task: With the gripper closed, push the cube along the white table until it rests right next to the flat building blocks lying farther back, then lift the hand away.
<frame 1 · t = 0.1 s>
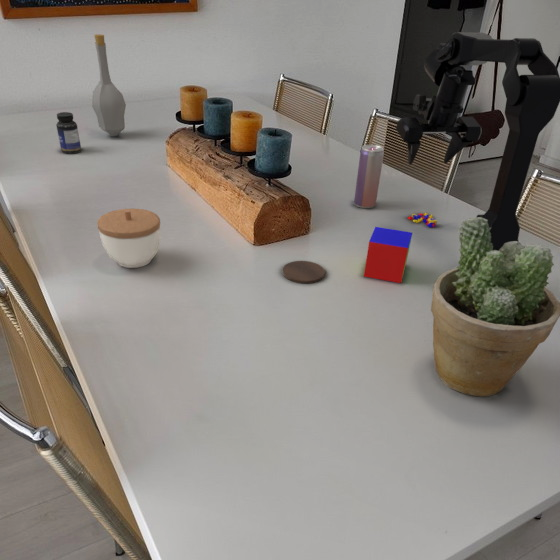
hand: (427, 163, 129), 15 cm above the table, tool pointing down, fingers open, 9 cm apart
coaster: (303, 273, 116), on the table
cube: (384, 272, 119), on the table
lidded bowl: (134, 261, 118), on the table
building blocks: (423, 221, 141), on the table
bottle: (113, 137, 188), on the table
beverage can: (364, 205, 148), on the table
pill bottle: (71, 151, 173), on the table
potted plant: (469, 376, 91), on the table
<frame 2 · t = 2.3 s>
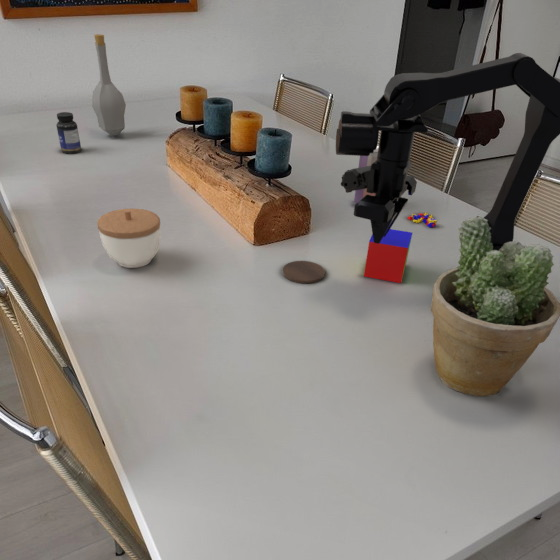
hand: (379, 239, 105), 11 cm above the table, tool pointing down, fingers open, 3 cm apart
nothing on the table moved.
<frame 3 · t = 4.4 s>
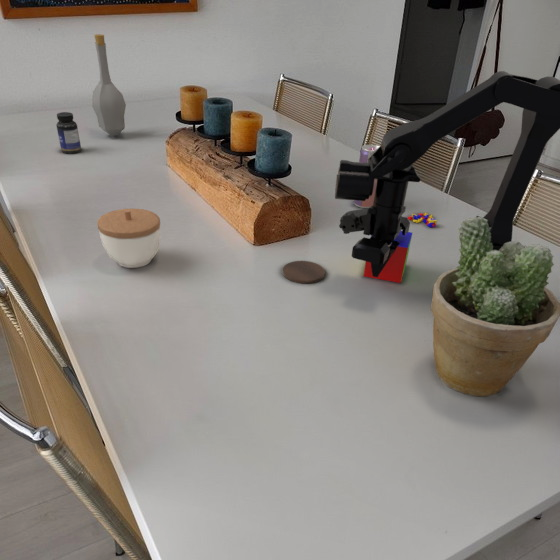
hand: (375, 276, 112), 2 cm above the table, tool pointing down, fingers closed
cube: (384, 272, 119), on the table, touching gripper
everything else where it was.
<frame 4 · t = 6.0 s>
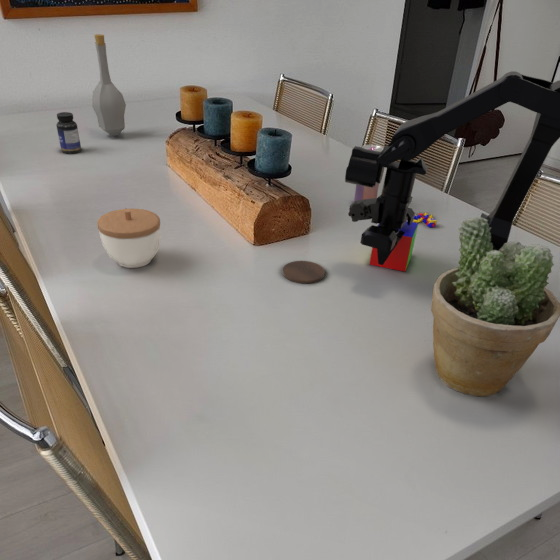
hand: (380, 264, 116), 2 cm above the table, tool pointing down, fingers closed
cube: (390, 261, 123), on the table, touching gripper
everything else where it was.
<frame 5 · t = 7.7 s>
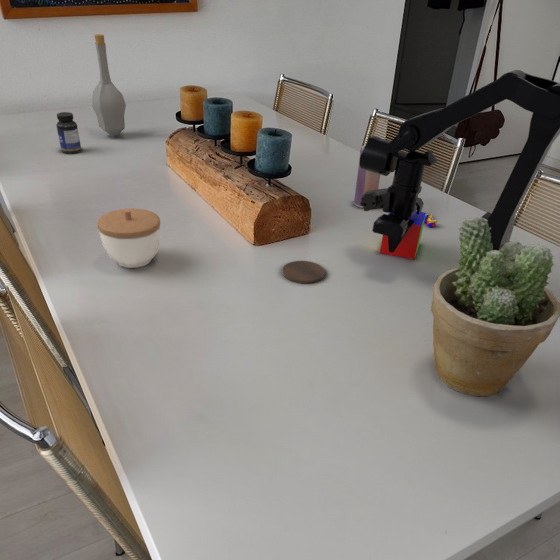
hand: (391, 251, 121), 2 cm above the table, tool pointing down, fingers closed
cube: (399, 249, 128), on the table, touching gripper
everything else where it was.
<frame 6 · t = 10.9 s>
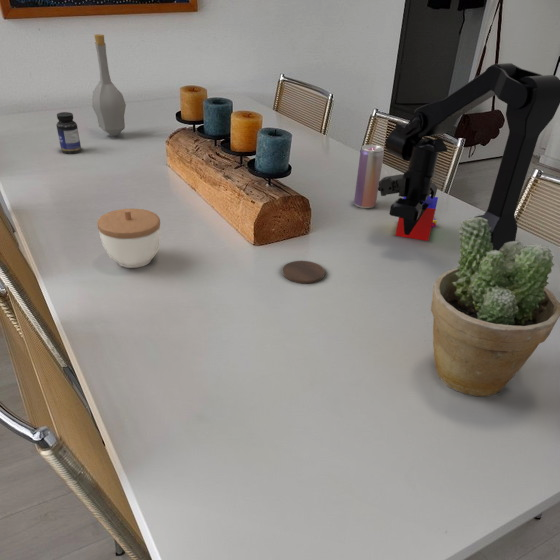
hand: (406, 234, 129), 2 cm above the table, tool pointing down, fingers closed
cube: (413, 232, 136), on the table, touching gripper
everything else where it was.
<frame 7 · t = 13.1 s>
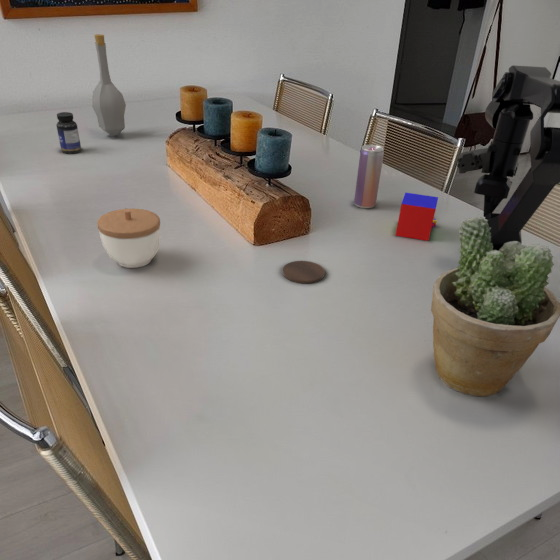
hand: (486, 216, 115), 11 cm above the table, tool pointing down, fingers closed
cube: (413, 232, 136), on the table
everything else where it was.
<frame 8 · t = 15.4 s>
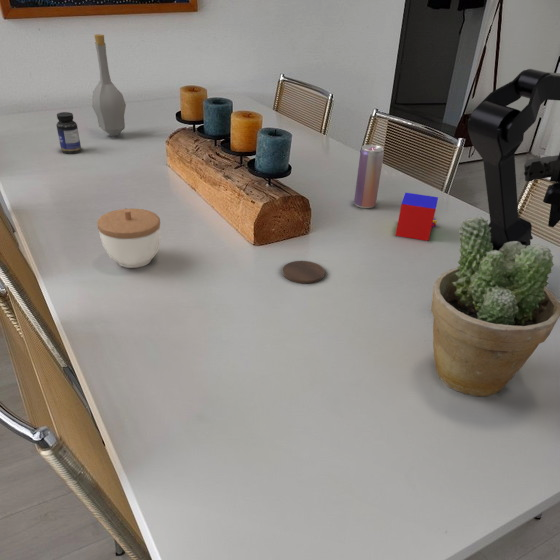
hand: (550, 226, 111), 12 cm above the table, tool pointing down, fingers closed
nothing on the table moved.
at the end: cube 8.1 cm from the building blocks (horizontally); cube moved 23.9 cm from its start; building blocks moved 0.2 cm from its start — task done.
